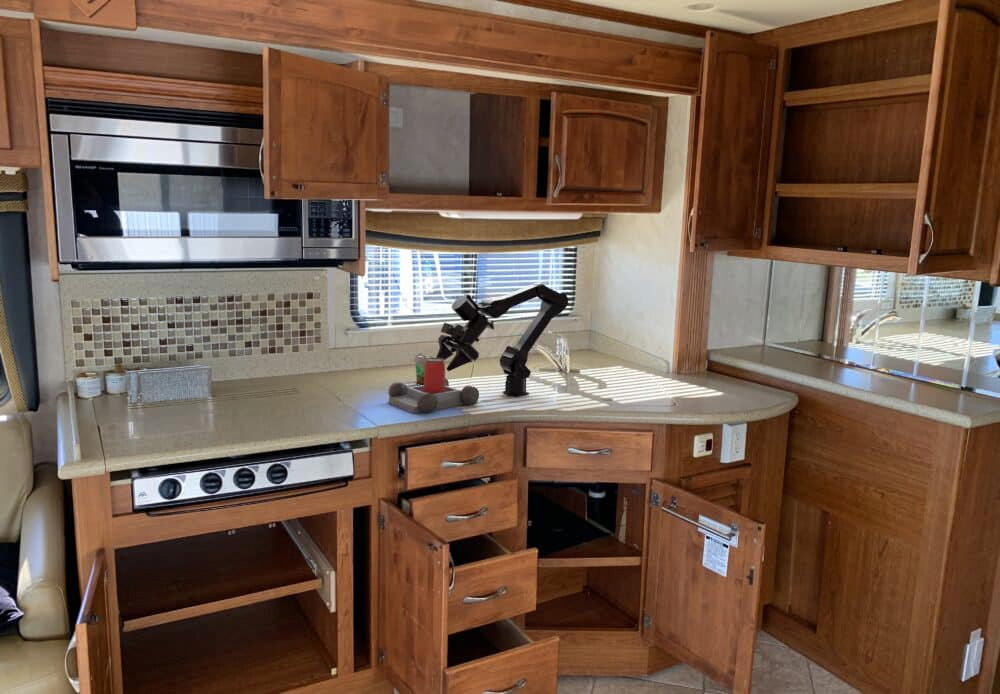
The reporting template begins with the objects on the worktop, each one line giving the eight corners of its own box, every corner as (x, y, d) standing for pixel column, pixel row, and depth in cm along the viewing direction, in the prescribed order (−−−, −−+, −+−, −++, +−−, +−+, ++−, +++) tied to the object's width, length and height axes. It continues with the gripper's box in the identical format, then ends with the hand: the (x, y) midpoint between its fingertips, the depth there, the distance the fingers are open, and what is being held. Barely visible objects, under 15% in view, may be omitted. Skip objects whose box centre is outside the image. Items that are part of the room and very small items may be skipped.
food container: (406, 381, 275) (406, 353, 273) (420, 379, 279) (421, 352, 277) (426, 388, 266) (426, 359, 264) (441, 386, 269) (441, 358, 268)
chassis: (447, 392, 262) (447, 374, 261) (481, 403, 248) (481, 385, 247) (385, 402, 246) (385, 383, 245) (418, 415, 233) (418, 395, 232)
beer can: (419, 397, 245) (420, 359, 243) (430, 393, 251) (430, 356, 249) (438, 400, 243) (439, 362, 241) (448, 395, 249) (449, 358, 246)
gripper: (443, 309, 254) (412, 345, 250) (470, 317, 238) (437, 356, 235) (464, 332, 259) (434, 367, 256) (492, 341, 243) (460, 379, 240)
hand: (440, 367), depth 246 cm, fingers open, 9 cm apart
